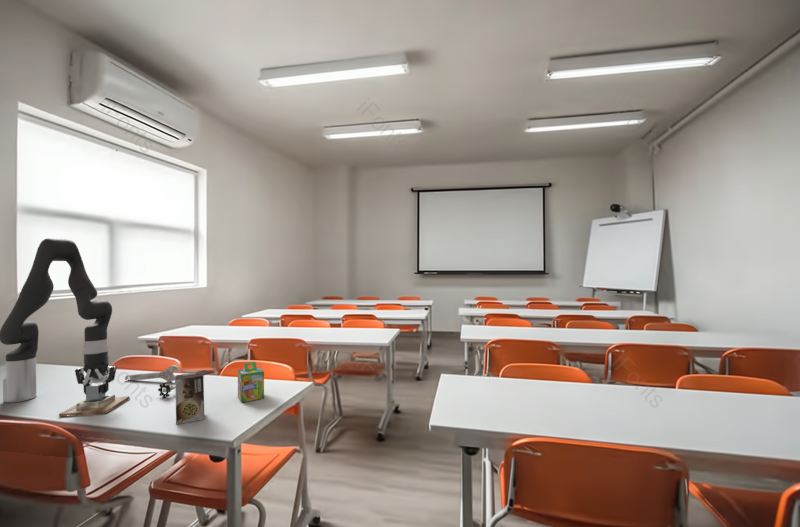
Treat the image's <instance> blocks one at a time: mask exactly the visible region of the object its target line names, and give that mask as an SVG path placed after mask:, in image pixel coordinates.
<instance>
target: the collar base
mask: <svg viewBox="0 0 800 527" xmlns="http://www.w3.org/2000/svg"><path fill="white" fill-rule="evenodd" d="M128 399H129V400H130V396H129V395H128V396H116V394H105V399H104V400H102V401H97V402H86V398H85V399H83V400H81V401H79V402H77V403H76V404H75V405H73V406H71V407H69V408H67V409H66V410H64V411H62V412H60V413H59V414H58V417H59V416H67V415H82V416H92V415H91V414H96V415H104V414H103V413H107V412H109V411H110V410H112V409H113V410H115V409H116V408H118V407H120V406H121V405H123V404H124V403H125V401H126V402H127V401H129V400H128ZM122 403H123V404H122ZM119 405H120V406H119ZM117 406H118V407H117ZM115 407H116V408H115ZM114 408H115V409H114ZM113 410H112V411H113ZM110 412H111V411H110ZM110 412H109V413H110ZM107 414H108V413H107Z"/></svg>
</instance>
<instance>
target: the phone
mask: <svg viewBox="0 0 800 527" xmlns="http://www.w3.org/2000/svg"><path fill="white" fill-rule="evenodd" d="M198 372H203V376H206V375H208V374H209V375H210V374H212V373H213V371H210V370H199V371H198Z"/></svg>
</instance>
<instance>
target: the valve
mask: <svg viewBox="0 0 800 527" xmlns="http://www.w3.org/2000/svg"><path fill="white" fill-rule="evenodd" d="M158 386H159V387H160V388H158V389H157V391H158V392H160V393H158V395H159V397H162V398H163V399H165V398H168V397H170V393H171V392H172V391H173V390H175V384H173V385H170V384H167V381H166V382H163V383H160V384H159V385H158Z"/></svg>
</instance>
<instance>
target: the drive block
mask: <svg viewBox="0 0 800 527" xmlns="http://www.w3.org/2000/svg"><path fill="white" fill-rule="evenodd" d="M89 384H90V385H88V386H86V395H85V399H86V402H97V401H102V400H104V399H105V395H106V393H103V394H102V384H103V383H102V382H93V383H89Z"/></svg>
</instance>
